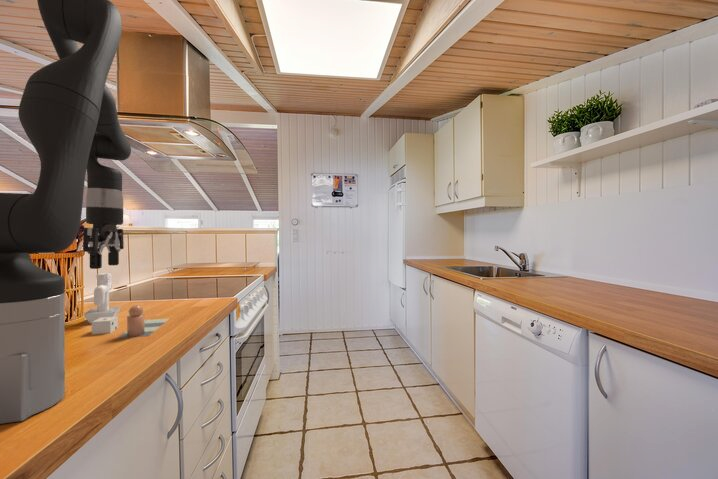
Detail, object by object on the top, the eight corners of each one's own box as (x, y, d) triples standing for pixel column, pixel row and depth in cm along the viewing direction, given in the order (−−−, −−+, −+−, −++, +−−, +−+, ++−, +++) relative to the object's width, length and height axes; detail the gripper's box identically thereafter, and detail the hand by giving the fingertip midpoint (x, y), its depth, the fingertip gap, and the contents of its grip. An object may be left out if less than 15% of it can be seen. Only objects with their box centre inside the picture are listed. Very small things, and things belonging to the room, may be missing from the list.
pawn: (141, 336, 74) (141, 306, 74) (124, 337, 73) (124, 307, 73) (146, 331, 77) (146, 303, 77) (131, 332, 76) (131, 304, 76)
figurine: (81, 328, 81) (81, 275, 81) (92, 319, 89) (92, 271, 89) (114, 324, 84) (114, 274, 84) (121, 316, 93) (122, 270, 92)
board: (148, 338, 74) (148, 335, 74) (115, 340, 72) (115, 338, 72) (169, 320, 89) (169, 318, 89) (143, 322, 87) (143, 320, 87)
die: (110, 335, 76) (110, 320, 76) (91, 337, 75) (91, 321, 75) (117, 330, 80) (117, 316, 80) (100, 332, 78) (100, 317, 78)
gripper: (107, 204, 71) (107, 269, 71) (134, 209, 85) (133, 264, 85) (69, 203, 69) (69, 270, 69) (103, 208, 82) (103, 264, 83)
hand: (105, 266), depth 77 cm, fingers open, 8 cm apart
